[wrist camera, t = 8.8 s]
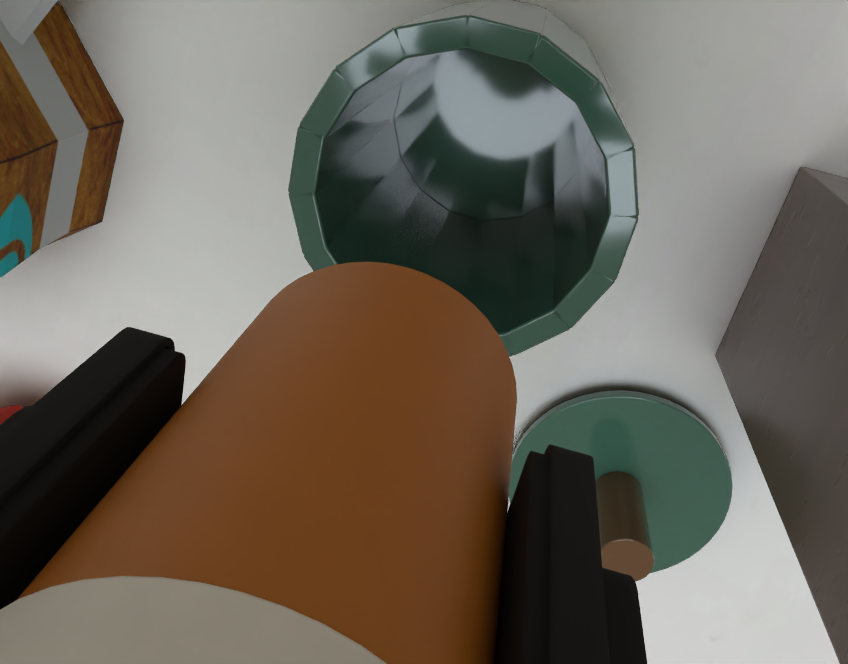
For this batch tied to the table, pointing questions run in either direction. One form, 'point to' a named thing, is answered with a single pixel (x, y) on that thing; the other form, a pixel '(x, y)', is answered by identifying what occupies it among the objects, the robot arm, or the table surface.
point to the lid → (640, 475)
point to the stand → (801, 383)
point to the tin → (473, 165)
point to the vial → (304, 497)
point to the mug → (50, 131)
